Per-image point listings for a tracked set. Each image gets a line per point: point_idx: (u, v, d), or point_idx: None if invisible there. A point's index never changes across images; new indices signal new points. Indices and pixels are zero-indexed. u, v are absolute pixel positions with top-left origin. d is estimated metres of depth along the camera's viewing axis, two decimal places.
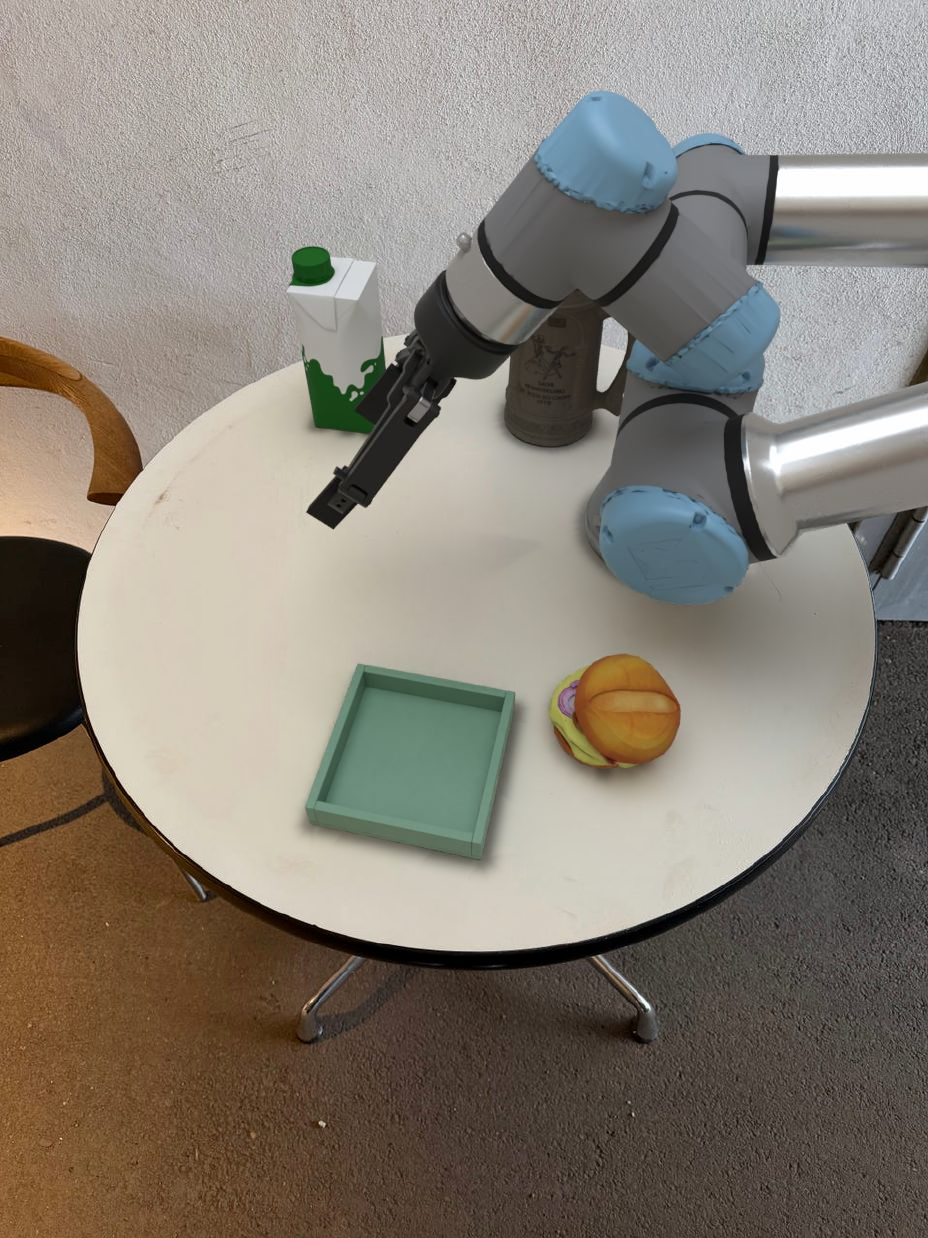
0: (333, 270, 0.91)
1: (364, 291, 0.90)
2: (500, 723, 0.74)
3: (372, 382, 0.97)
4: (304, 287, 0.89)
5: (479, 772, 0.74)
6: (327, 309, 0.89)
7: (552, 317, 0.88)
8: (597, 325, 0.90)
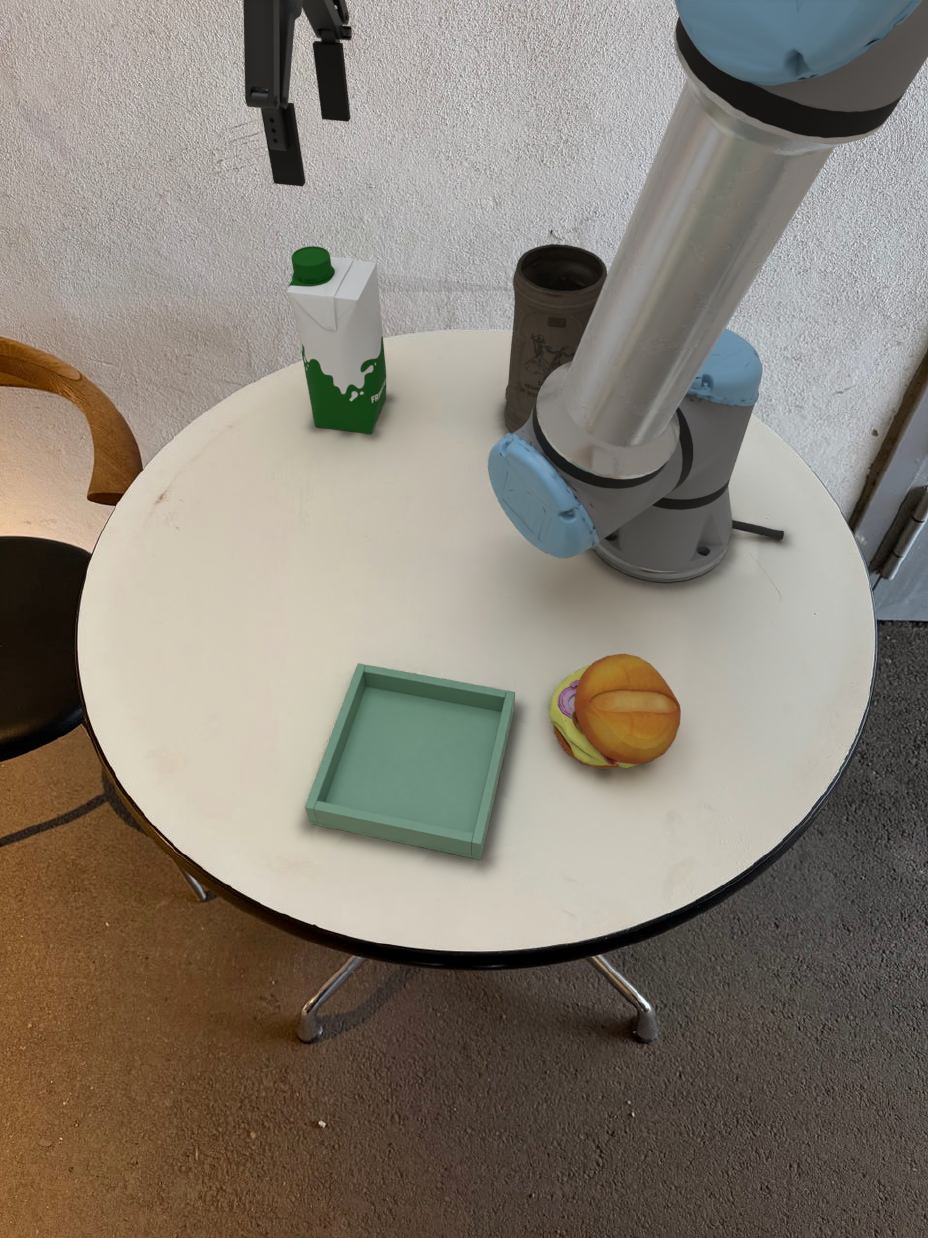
0: (333, 270, 0.91)
1: (364, 291, 0.90)
2: (500, 723, 0.74)
3: (372, 382, 0.97)
4: (304, 287, 0.89)
5: (479, 772, 0.74)
6: (327, 309, 0.89)
7: (552, 317, 0.88)
8: None
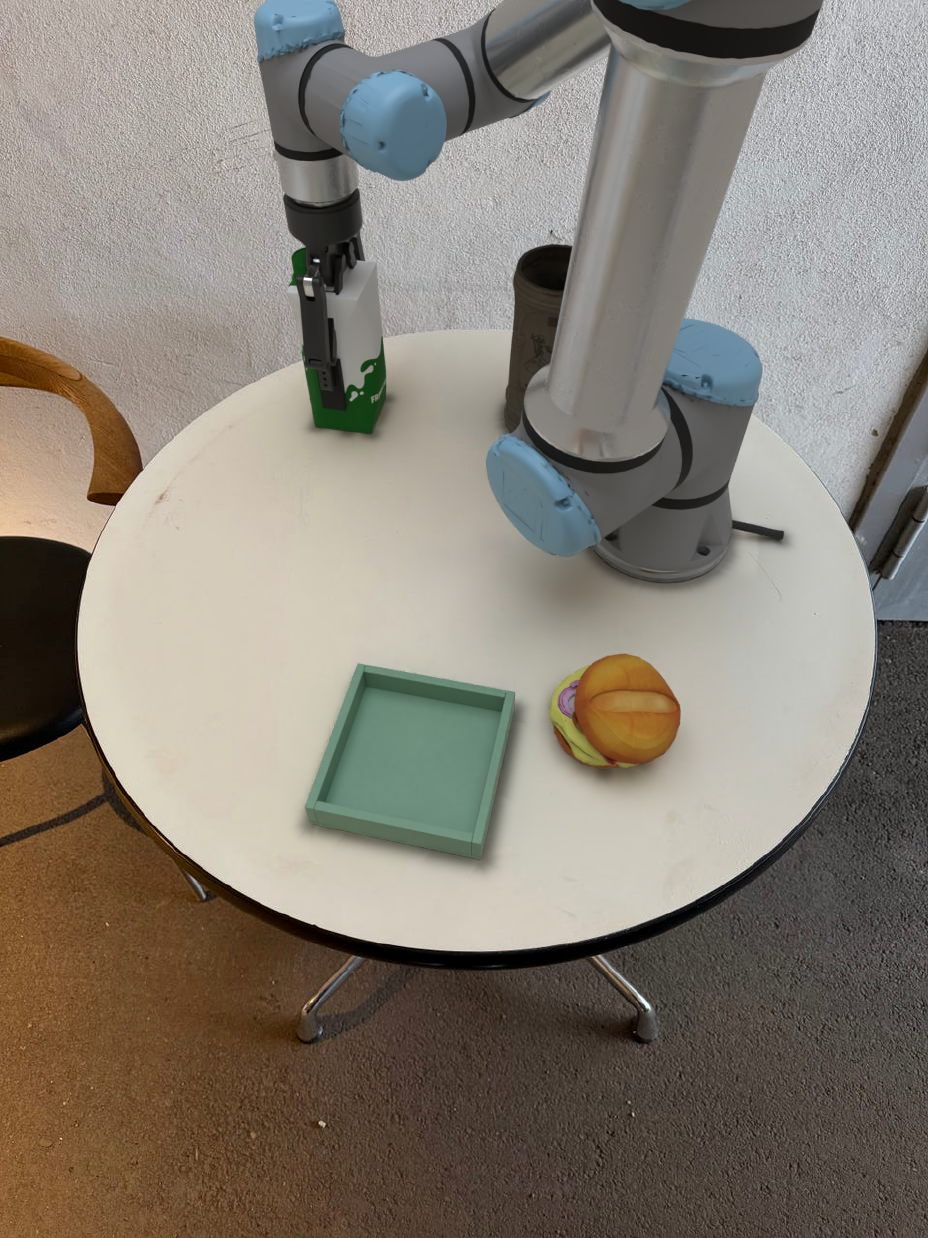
0: None
1: (364, 291, 0.90)
2: (500, 723, 0.74)
3: (372, 382, 0.97)
4: None
5: (479, 772, 0.74)
6: (327, 309, 0.89)
7: (552, 317, 0.88)
8: None
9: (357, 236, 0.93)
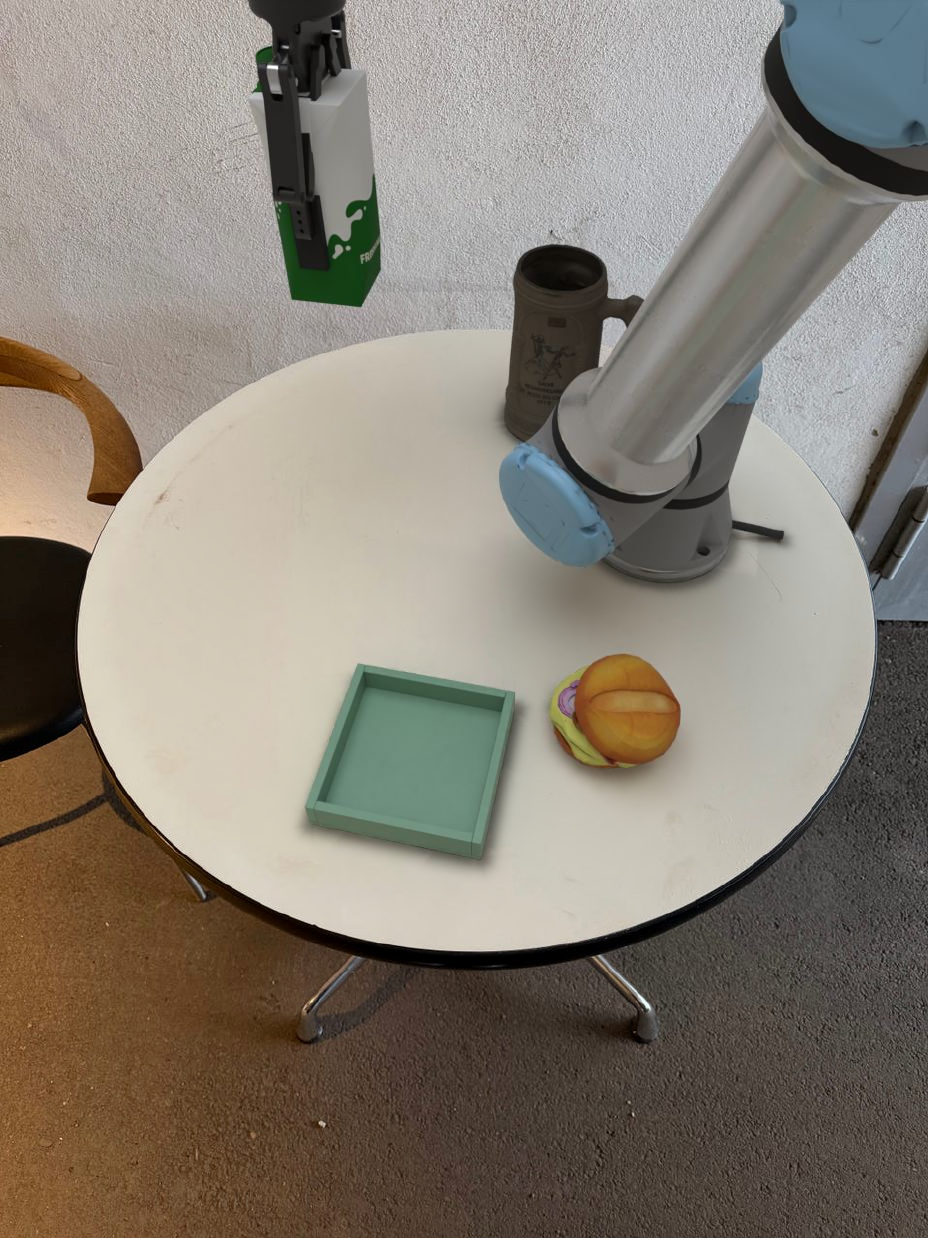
0: None
1: (349, 99, 0.69)
2: (500, 723, 0.74)
3: (361, 234, 0.77)
4: None
5: (479, 772, 0.74)
6: (301, 121, 0.69)
7: (552, 317, 0.88)
8: (597, 325, 0.90)
9: (342, 38, 0.72)
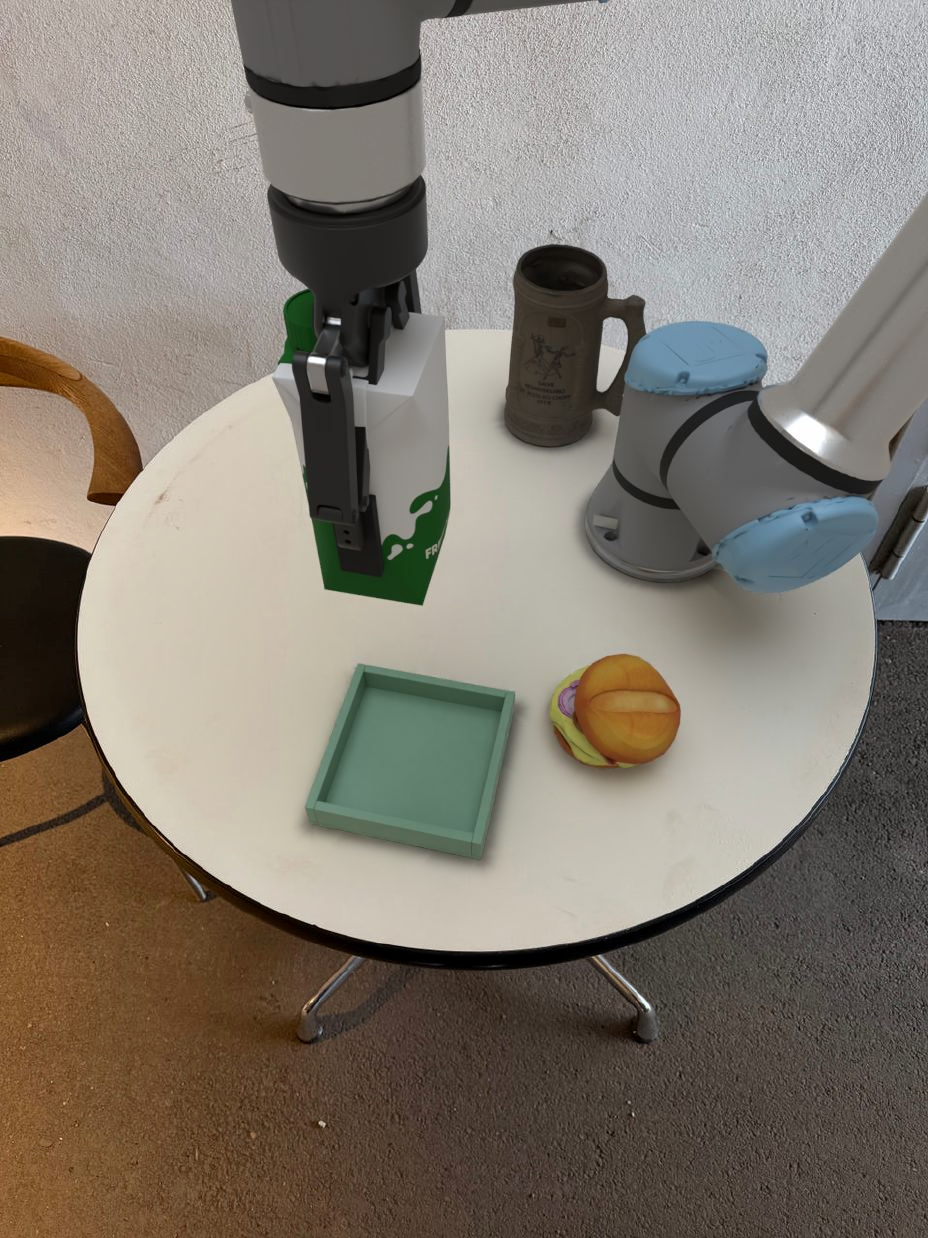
0: None
1: (424, 376, 0.46)
2: (500, 723, 0.74)
3: (428, 527, 0.54)
4: None
5: (479, 772, 0.74)
6: None
7: (552, 317, 0.88)
8: (597, 325, 0.90)
9: None
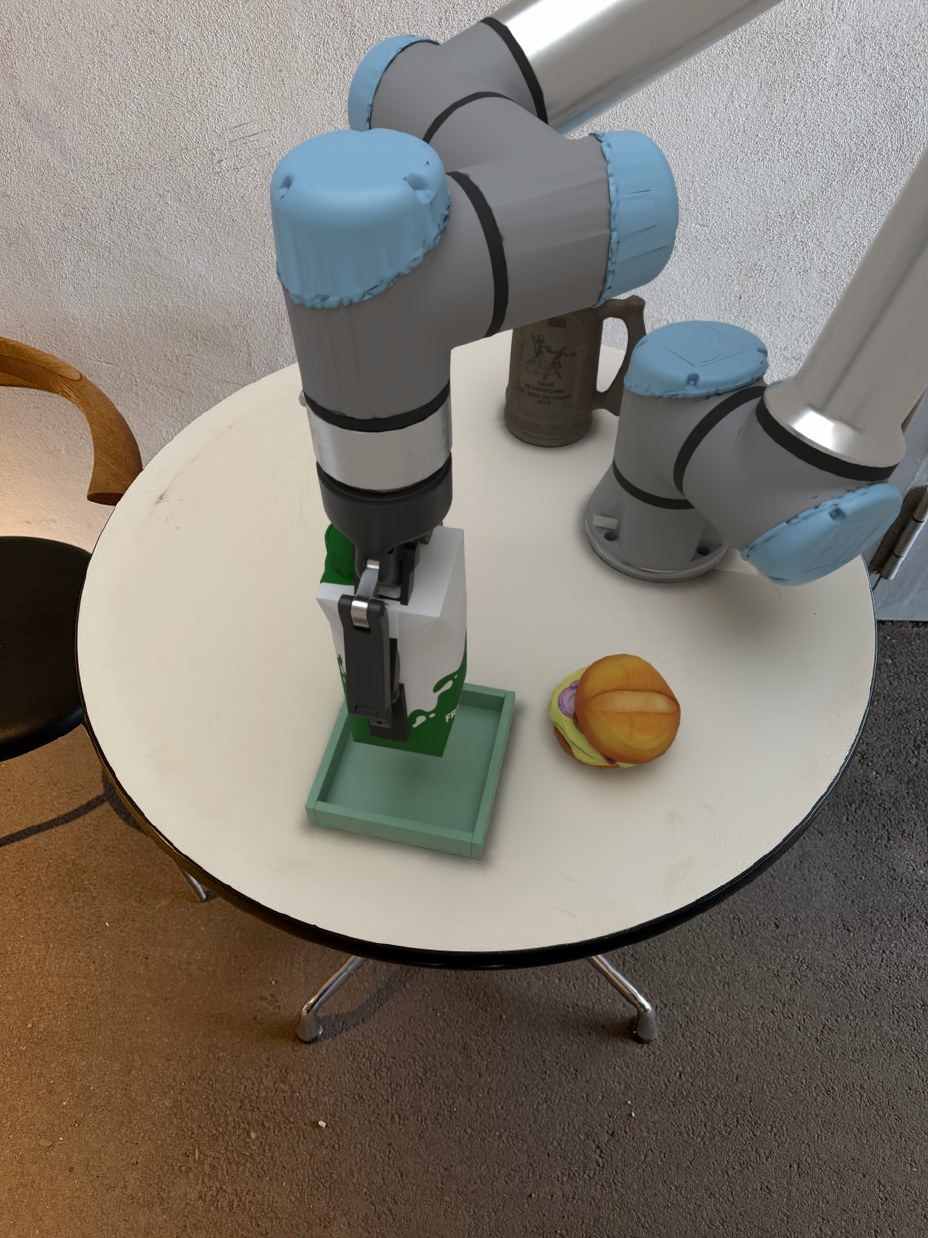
0: None
1: (448, 593, 0.53)
2: (500, 723, 0.74)
3: (448, 699, 0.61)
4: (346, 588, 0.53)
5: (479, 772, 0.74)
6: None
7: (552, 317, 0.88)
8: (597, 325, 0.90)
9: None
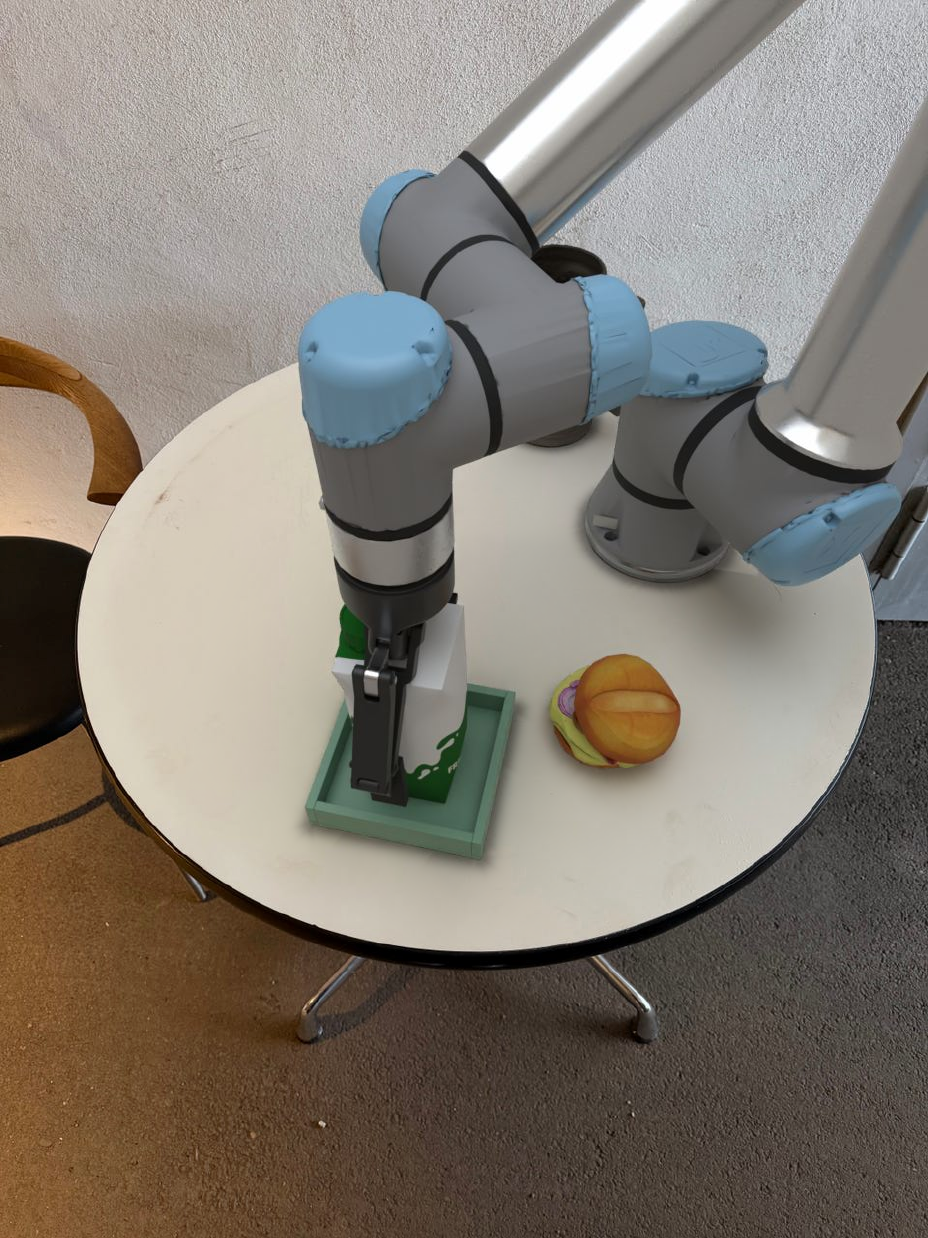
0: None
1: (449, 666, 0.59)
2: (500, 723, 0.74)
3: (451, 754, 0.67)
4: (359, 663, 0.59)
5: (479, 772, 0.74)
6: None
7: None
8: None
9: None
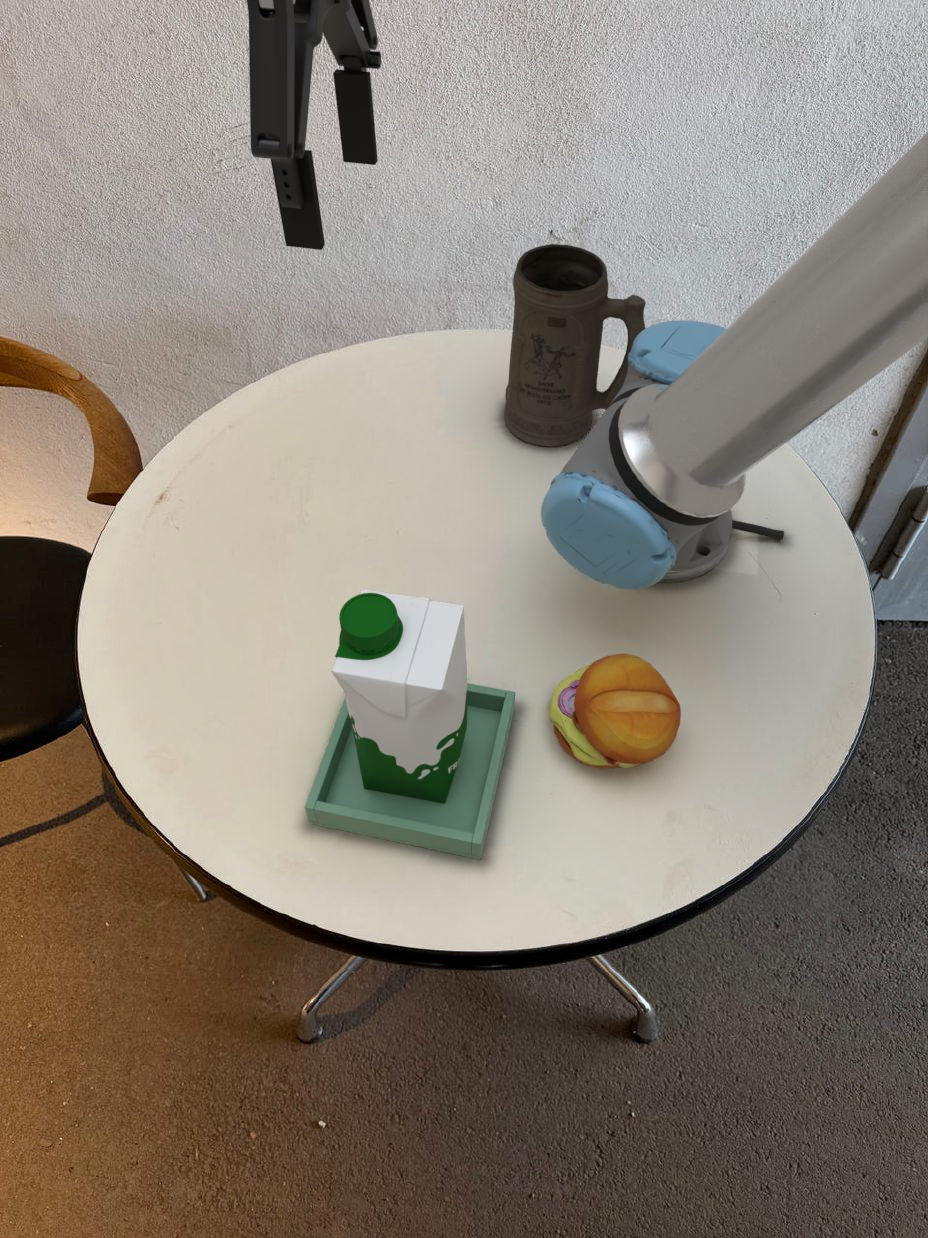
0: (400, 625, 0.61)
1: (449, 666, 0.59)
2: (500, 723, 0.74)
3: (451, 754, 0.67)
4: (359, 663, 0.59)
5: (479, 772, 0.74)
6: (394, 696, 0.59)
7: (552, 317, 0.88)
8: (597, 325, 0.90)
9: None
